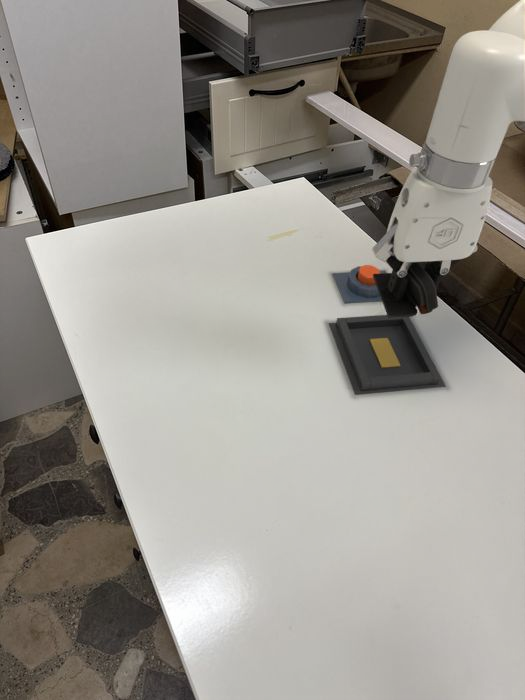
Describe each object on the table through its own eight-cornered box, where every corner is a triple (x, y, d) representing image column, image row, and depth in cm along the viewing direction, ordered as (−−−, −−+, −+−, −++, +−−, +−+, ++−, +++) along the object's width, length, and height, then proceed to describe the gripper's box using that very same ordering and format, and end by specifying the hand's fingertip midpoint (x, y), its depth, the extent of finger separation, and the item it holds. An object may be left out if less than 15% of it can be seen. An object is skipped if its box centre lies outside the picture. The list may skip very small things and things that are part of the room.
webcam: (434, 319, 68) (448, 284, 64) (388, 319, 67) (400, 284, 63) (414, 275, 74) (426, 241, 70) (372, 275, 73) (381, 241, 69)
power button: (374, 272, 92) (376, 264, 91) (380, 285, 90) (383, 277, 88) (354, 273, 92) (356, 265, 90) (360, 286, 89) (362, 278, 88)
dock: (408, 321, 88) (412, 310, 86) (444, 390, 77) (449, 379, 76) (327, 327, 85) (329, 316, 83) (353, 399, 75) (357, 388, 73)
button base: (383, 275, 96) (387, 262, 94) (398, 304, 91) (403, 290, 88) (331, 278, 94) (334, 264, 92) (343, 307, 89) (346, 294, 87)
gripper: (395, 183, 53) (359, 316, 66) (541, 179, 56) (479, 308, 69) (372, 149, 58) (343, 279, 71) (507, 147, 61) (455, 273, 74)
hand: (410, 292), depth 70 cm, fingers closed on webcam, 3 cm apart
